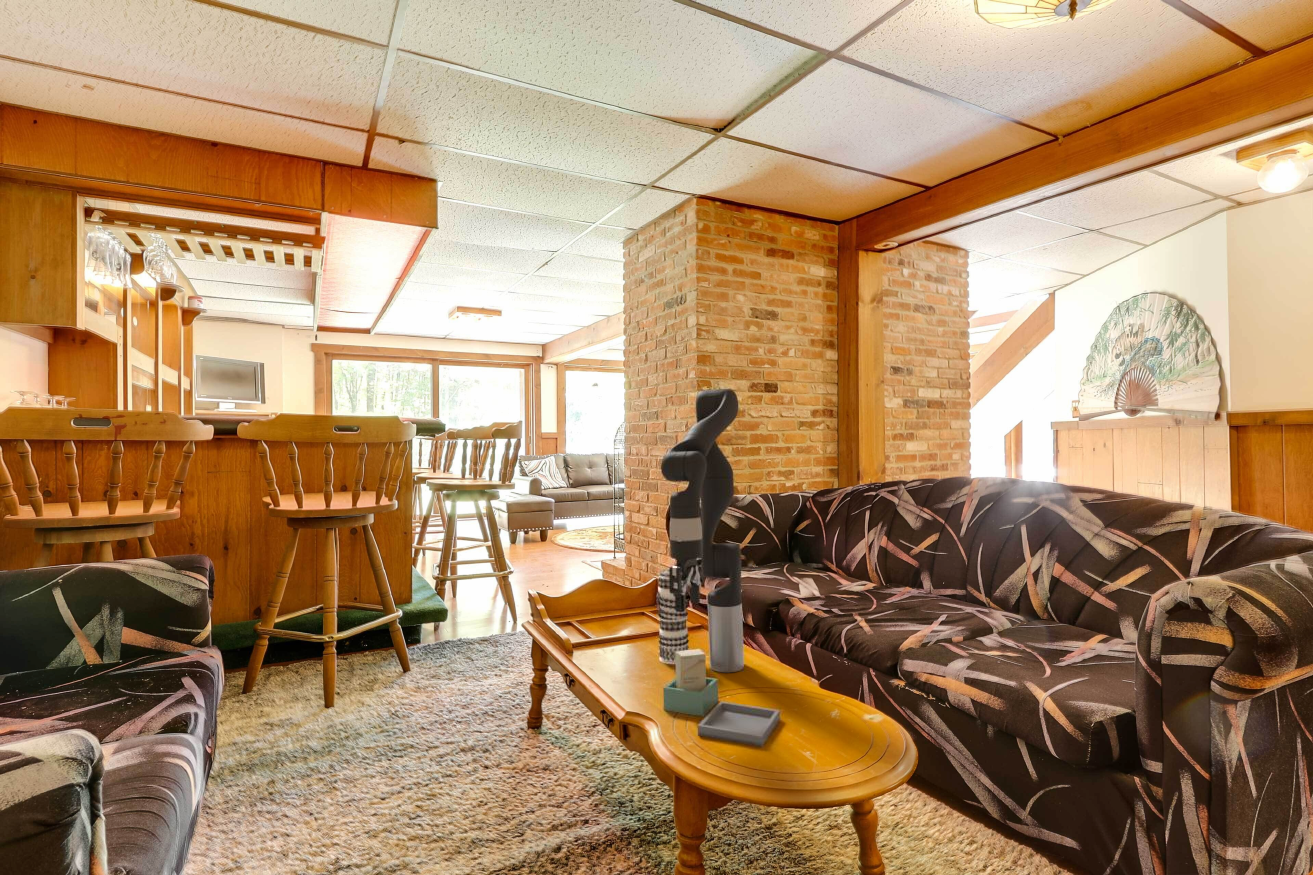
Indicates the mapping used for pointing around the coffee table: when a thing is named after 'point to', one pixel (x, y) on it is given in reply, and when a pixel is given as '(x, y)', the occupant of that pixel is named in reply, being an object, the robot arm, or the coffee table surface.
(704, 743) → the coffee table surface
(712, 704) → the teal square open box
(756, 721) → the tray
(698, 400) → the robot arm
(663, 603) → the decorative candle
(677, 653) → the skincare box
